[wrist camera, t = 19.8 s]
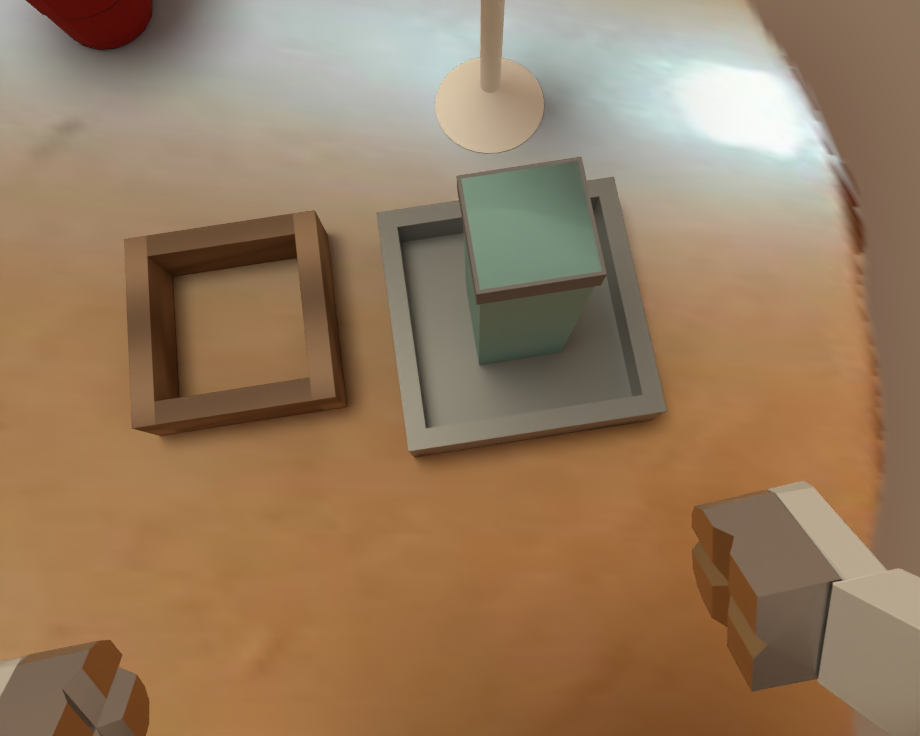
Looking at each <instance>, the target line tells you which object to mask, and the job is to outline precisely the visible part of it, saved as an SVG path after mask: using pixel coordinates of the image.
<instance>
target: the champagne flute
mask: <svg viewBox="0 0 920 736" xmlns="http://www.w3.org/2000/svg"><path fill="white" fill-rule="evenodd" d="M504 4H505V0H481V43H480V58H476V59H472V60H469V61H467V62H464V63H462V64H460V65H459V66H457V67H456V68H454V69H453V70H452V71H451V72H450V73H449V74H448V75H447V76H446V77H445V79H444V80H443V81H442V83H441V85H440V87H439V89H438V91H437V95H436V101H435V110H436V115H437V119H438V122H439V124H440V126H441V128H442V129H443V131H444V132H445V133H446V134H447V136H448V137H449V138H450V139H452V140H453V141H454V142H455V143H457V144H458V145H460V146H462V147H464V148H466V149H469V150H472V151H475V152H481V153H498V152H503V151H507V150H510V149H512V148H515V147H517V146H519V145H520V144H522V143H523V142H525V141H526V140H527V139H528V138H529V137H530V136H531V135H532V134H533V133H534V132H535V131H536V129H537V128H538V126H539V124H540V122H541V119H542V117H543V111H544V97H543V93H542V90H541V87H540V85H539V83H538V82H537V80H536V78H535V77H534V76H533V75H532V74H531V73H530V72H529V71H528V70H527V69H525V68H524V67H523V66H522V65H520V64H518V63H516V62H514V61H511V60H508V59H505V58H502V41H503V23H504Z"/></svg>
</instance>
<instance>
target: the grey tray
mask: <svg viewBox="0 0 920 736" xmlns="http://www.w3.org/2000/svg"><path fill="white" fill-rule="evenodd" d="M587 185H588V190H589V195H590V199H591V204H592V208H593V213H594V218H595V222H596V227H597V231H598V236H599V241H600V245H601V250H602V254H603V259H604V264H605V268H606V273H607V275H606V277H605V279H604V281H603V282H602V284H601V286H595V287H594V288H593V290H592V292H591V294H590V296H589V298H588V300H587V302H586V304H585V306H584V308H583V310H582V312H581V314H580V316H579V318H578V320H577V322H576V324H575V326H574V328H573V330H572V332H571V334H570V336H569V338H568V339H567V341H566V343H565V345H564V347H563V349H562V351H561V352H559V353H553V354H547V355H540V356H534V357H527V358H521V359H514V360H508V361H502V362H495V363H489V364H482V365H479V362H478V356H477V350H476V344H475V338H474V332H473V326H472V320H471V314H470V308H469V302H468V296H467V290H466V274H465V252H464V231H463V221H462V215H461V209H460V203H459V200H458V201H451V202H445V203H438V204H431V205H425V206H418V207H412V208H405V209H399V210H392V211H385V212H379V213H377V220H378V228H379V235H380V243H381V250H382V257H383V265H384V272H385V280H386V287H387V295H388V302H389V309H390V317H391V324H392V332H393V339H394V347H395V354H396V361H397V369H398V376H399V384H400V391H401V399H402V406H403V413H404V421H405V428H406V436H407V443H408V451H409V452H410V453H411V454H412V455H413V456H414V457H417V456H423V455H430V454H436V453H443V452H449V451H455V450H462V449H468V448H475V447H481V446H488V445H494V444H500V443H507V442H513V441H520V440H526V439H533V438H539V437H545V436H552V435H558V434H565V433H571V432H578V431H584V430H590V429H597V428H603V427H610V426H616V425H623V424H629V423H635V422H642V421H648V420H652V419H654V418H656V417H657V416H659V415H661V414H663V413H665V412H666V411H667V410H666V406H665V401H664V397H663V392H662V388H661V383H660V379H659V375H658V370H657V366H656V361H655V357H654V352H653V348H652V344H651V339H650V335H649V330H648V326H647V321H646V317H645V313H644V308H643V304H642V299H641V295H640V291H639V286H638V282H637V277H636V273H635V268H634V264H633V260H632V255H631V251H630V246H629V242H628V237H627V233H626V229H625V224H624V220H623V215H622V211H621V207H620V202H619V198H618V193H617V189H616V184H615V180H614V177H609V178H603V179H596V180H590V181H587Z"/></svg>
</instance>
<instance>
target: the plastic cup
mask: <svg viewBox="0 0 920 736" xmlns="http://www.w3.org/2000/svg"><path fill="white" fill-rule="evenodd" d="M26 1H27V2H28V3H30V4H31V5H32V6H33V7H34V8H36V9H37V10H38V11H39V12H40V13H42V14H43V15H46V16H47V17H48V18H49V19H51V20H52V21H53V22H54V23H55V24H56V25H58V26H59V27H60V28H61V29H62V30H63V31H65V32H66V33H67V34H68V35H69V36H70V37H72V38H73V39H74V40H76V41H79V42H80V43H81V44H82V45H85V46H88V47H92V48H95V49H112V48H117V47H120V46H122V45H124V44H127V43H129V42H131V41H133V40H134V39H135V38H136V37H137V36H138V35H139V34H141V33H142V32H143V31H144V30H145V28H146V26H147V24H148V22H149V20H150V18H151V16H152V0H26Z"/></svg>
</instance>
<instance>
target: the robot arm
mask: <svg viewBox="0 0 920 736" xmlns="http://www.w3.org/2000/svg"><path fill="white" fill-rule="evenodd" d="M692 528H693V530H694V532H695V534H696V535H697V537H698V539H699V542H698V543H697V544H696V546H695V547H694V548H693V549H692V560H693V570H694V574H695V578H696V582H697V587H698V589H699V592H700V594H701V597H702V599H703V601H704V604H705V605H706V607H707V609H708V611H709V613H710V615H711V617H712V618H713V619H715V620H716V621H718V622H720V623H721V624H723V625H725V626H726V627H727V647H728V649H729V651H730V653H731V654H732V656H733V658H734V660H735V662H736V664H737V665H738V667H739V669H740V671H741V673H742V675H743V676H744V678H745V680H746V682H747V684H748V686H749V687H750V689H751V691H757V690H762V689H767V688H772V687H778V686H783V685H788V684H793V683H798V682H803V681H808V680H813V679H818V683H819V684H821V685H822V686H823V687H825V688H826V689H827V690H829V691H830V692H832V693H833V694H834V695H836V696H837V697H838V698H840V699H841V700H842V701H844V702H845V703H847V704H848V705H849V706H851V707H852V708H853V709H855V710H856V711H857V712H859V713H860V714H861V715H863V716H864V717H866V718H867V719H869V720H870V721H871V722H872V723H874V724H875V725H877V726H878V727H879V728H881V729H882V730H883V731H885V732H886V733H887V734H889V735H890V736H920V577H918V576H916V575H913V574H911V573H909V572H907V571H905V570H902V569H900V568H898V569H893V570H887V569H886V568H885V567H884V566H883V564H882V563H881V562H880V561H879V560H878V559H877V558H876V557H875V555H874V554H873V553H872V552H871V551H870V550H869V549H868V548H867V546H866V545H865V544H864V543H863V542H862V541H861V540H860V539H859V538H858V536H857V535H856V534H855V533H854V532H853V531H852V530H851V529H850V527H849V526H848V525H847V524H846V523H845V522H844V521H843V520H842V518H841V517H840V516H839V515H838V514H837V513H836V512H835V511H834V509H833V508H832V507H831V506H830V505H829V504H828V503H827V502H826V501H825V499H824V498H823V497H822V496H821V495H820V494H819V493H818V492H817V490H816V489H815V488H814V487H813V486H812V485H811V484H809V483H807V482H805V481H801V482H797V483H792V484H788V485H784V486H779V487H775V488H771V489H767V490H766V491H764V490H761V491H757V492H753V493H748V494H744V495H740V496H736V497H731V498H727V499H723V500H719V501H715V502H710V503H706V504H702V505H698V506H694V509H693V512H692ZM121 658H122V654H121V652H120V651H119V650H118V649H117V648H116V646H115V645H114V644H113V643H112V642H111V640H102V641H95V642H90V643H85V644H80V645H74V646H69V647H64V648H59V649H54V650H49V651H44V652H39V653H34V654H29V655H27V656H22V657H17V658H12V659H7V660H2V661H0V736H146V733H147V729H148V726H149V698H148V695H147V692H146V689H145V686H144V684H143V683H142V681H141V680H140V678H139V677H138V676H137V675H136V674H134V673H132V672H129V671H127V670H125V669H122V668H120V667H119V664H120V661H121Z"/></svg>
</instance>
